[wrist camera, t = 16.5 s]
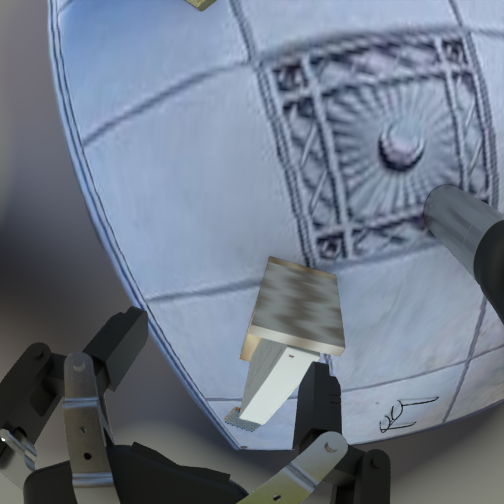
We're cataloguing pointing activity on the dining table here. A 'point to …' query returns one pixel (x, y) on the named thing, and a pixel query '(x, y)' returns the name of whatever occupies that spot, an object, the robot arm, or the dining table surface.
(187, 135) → the dining table surface
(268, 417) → the skincare box
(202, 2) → the decorative tile
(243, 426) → the woven mat
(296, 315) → the wooden bookend
